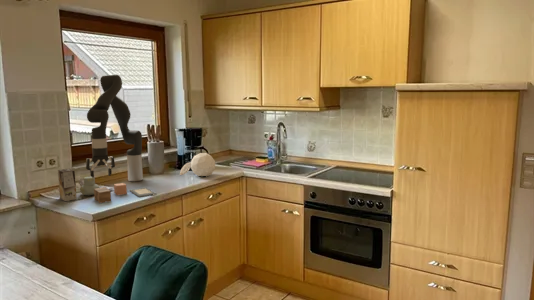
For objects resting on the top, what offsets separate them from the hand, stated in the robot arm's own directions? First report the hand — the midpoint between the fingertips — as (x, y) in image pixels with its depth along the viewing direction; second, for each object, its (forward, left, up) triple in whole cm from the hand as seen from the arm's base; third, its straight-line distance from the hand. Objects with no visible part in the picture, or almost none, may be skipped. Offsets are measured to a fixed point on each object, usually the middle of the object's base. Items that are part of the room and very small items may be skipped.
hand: (101, 176), depth 219 cm
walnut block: (0, 0, -14) cm, 14 cm away
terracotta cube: (-9, +12, -13) cm, 20 cm away
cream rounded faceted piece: (-29, +71, -14) cm, 78 cm away
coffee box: (-14, -15, -14) cm, 24 cm away
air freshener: (-17, -3, -14) cm, 22 cm away
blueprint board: (-3, +23, -13) cm, 27 cm away
